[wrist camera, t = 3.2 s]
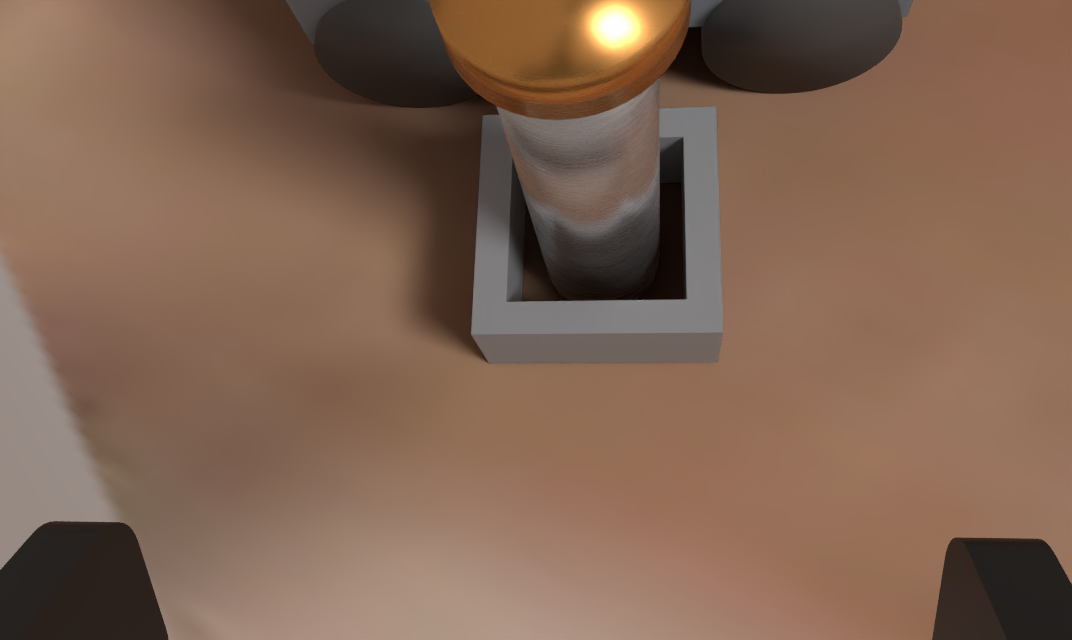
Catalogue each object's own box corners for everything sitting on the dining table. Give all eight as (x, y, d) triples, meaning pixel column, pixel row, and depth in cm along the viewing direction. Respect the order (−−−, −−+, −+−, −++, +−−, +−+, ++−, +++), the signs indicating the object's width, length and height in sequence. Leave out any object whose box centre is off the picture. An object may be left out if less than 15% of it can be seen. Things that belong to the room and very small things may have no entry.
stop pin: (677, 186, 26) (690, -159, 15) (680, 328, 24) (697, 70, 13) (529, 190, 26) (433, -140, 15) (525, 329, 25) (416, 82, 14)
